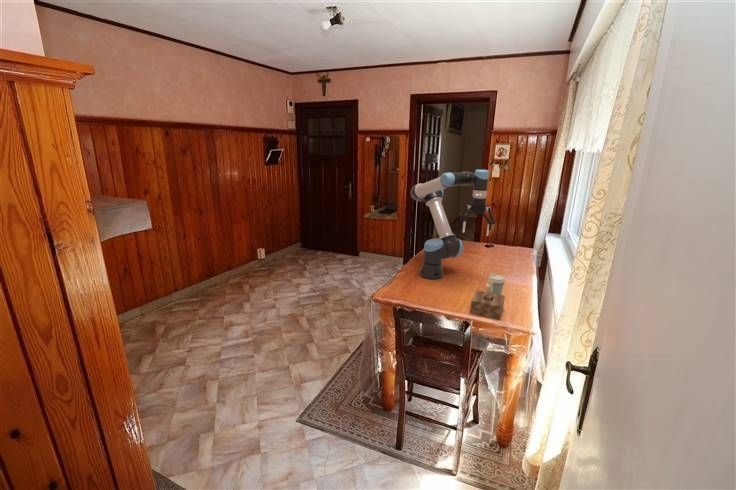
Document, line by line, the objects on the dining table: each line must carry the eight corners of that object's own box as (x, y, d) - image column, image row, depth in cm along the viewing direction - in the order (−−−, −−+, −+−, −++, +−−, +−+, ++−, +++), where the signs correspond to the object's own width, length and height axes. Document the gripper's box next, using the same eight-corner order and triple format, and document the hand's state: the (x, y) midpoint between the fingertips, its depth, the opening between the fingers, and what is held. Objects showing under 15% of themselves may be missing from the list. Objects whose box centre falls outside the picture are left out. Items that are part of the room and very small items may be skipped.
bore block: (470, 313, 168) (471, 300, 166) (475, 302, 180) (476, 290, 178) (499, 319, 162) (501, 306, 160) (503, 308, 174) (504, 295, 172)
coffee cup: (498, 293, 191) (501, 274, 188) (505, 300, 183) (508, 280, 179) (484, 293, 191) (486, 274, 187) (489, 300, 182) (492, 280, 179)
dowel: (482, 307, 170) (486, 281, 166) (484, 304, 173) (487, 279, 169) (489, 308, 168) (493, 283, 164) (490, 306, 171) (494, 281, 167)
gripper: (455, 196, 191) (452, 232, 197) (501, 200, 180) (496, 238, 186) (458, 195, 198) (455, 229, 204) (503, 198, 187) (498, 235, 193)
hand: (475, 233), depth 195 cm, fingers open, 13 cm apart
